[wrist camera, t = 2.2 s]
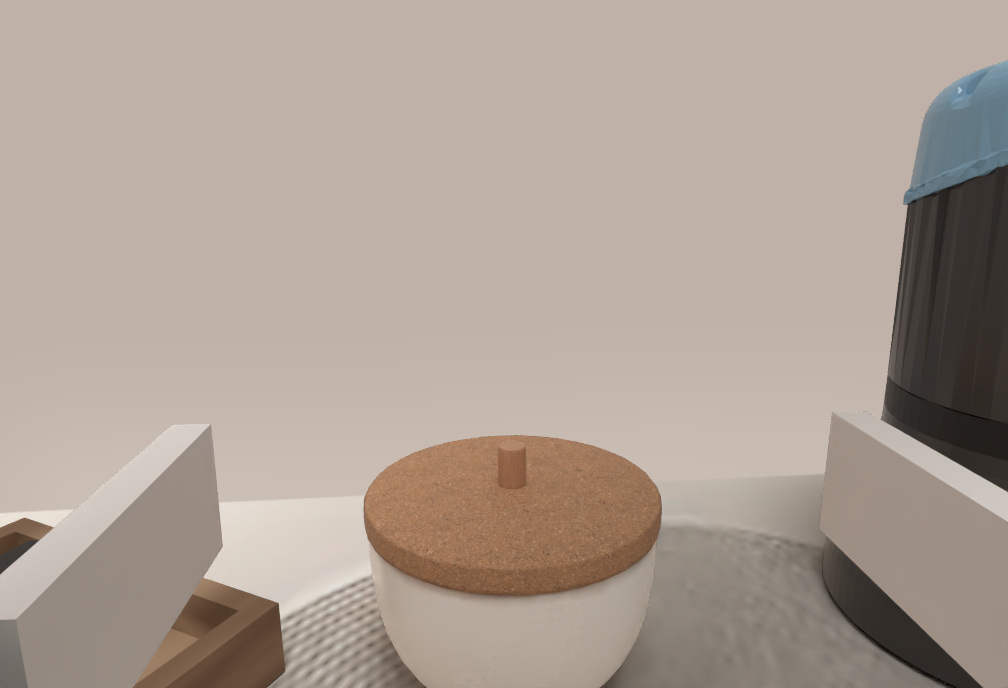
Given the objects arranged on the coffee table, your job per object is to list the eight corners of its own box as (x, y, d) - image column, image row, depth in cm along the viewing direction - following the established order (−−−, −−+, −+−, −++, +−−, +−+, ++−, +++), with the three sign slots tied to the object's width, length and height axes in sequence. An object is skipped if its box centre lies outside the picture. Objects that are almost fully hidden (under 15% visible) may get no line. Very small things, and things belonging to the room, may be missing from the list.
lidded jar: (705, 749, 24) (723, 492, 22) (384, 815, 22) (367, 536, 19) (595, 576, 34) (599, 389, 32) (368, 609, 32) (355, 410, 30)
